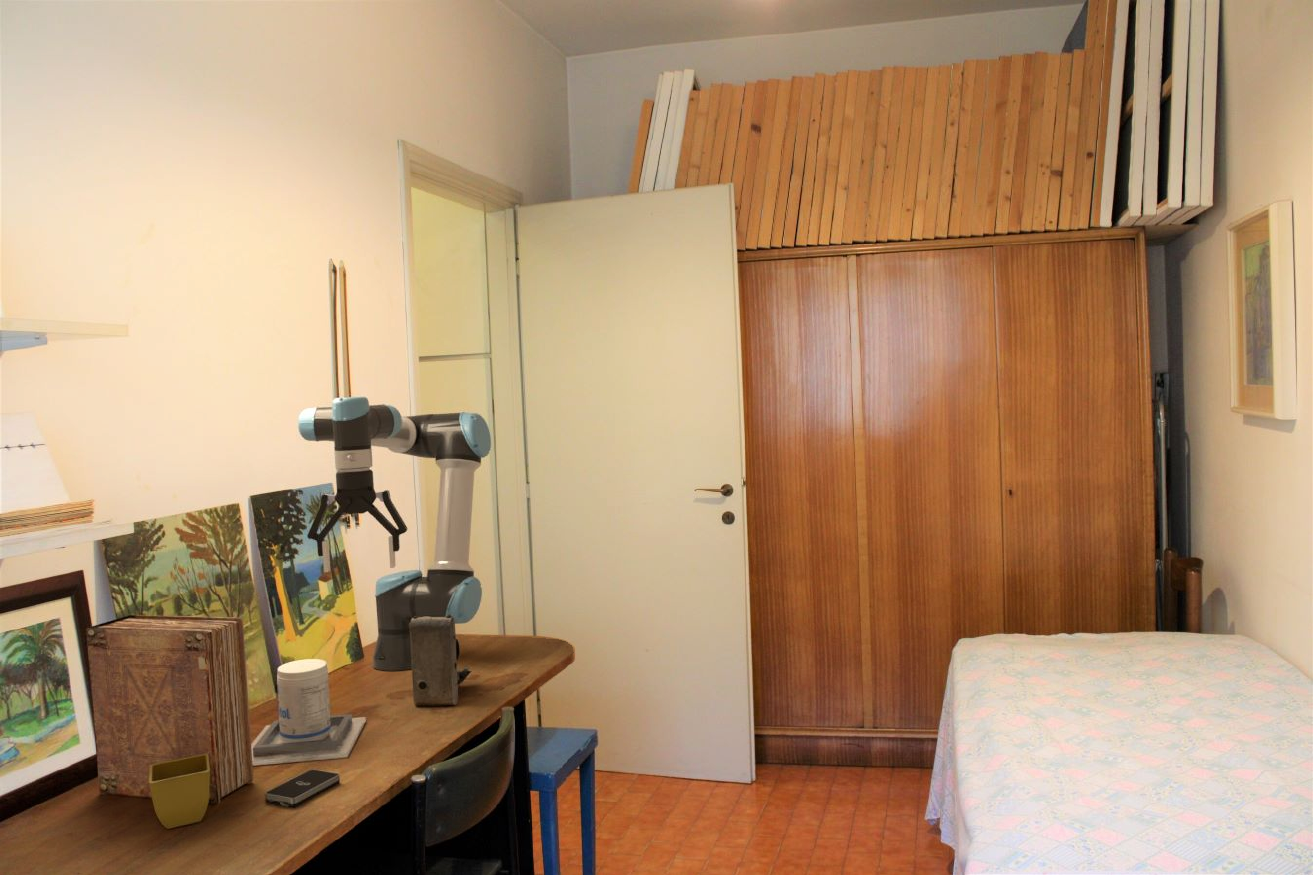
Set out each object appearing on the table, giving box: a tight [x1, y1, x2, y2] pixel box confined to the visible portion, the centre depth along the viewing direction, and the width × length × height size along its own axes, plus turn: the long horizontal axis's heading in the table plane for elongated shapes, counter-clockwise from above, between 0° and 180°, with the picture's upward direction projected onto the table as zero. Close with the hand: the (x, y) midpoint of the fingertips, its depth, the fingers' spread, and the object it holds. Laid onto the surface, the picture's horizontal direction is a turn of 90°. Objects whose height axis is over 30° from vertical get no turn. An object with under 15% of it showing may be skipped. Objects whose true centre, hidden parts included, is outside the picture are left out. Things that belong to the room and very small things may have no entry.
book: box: [85, 614, 255, 806], centre depth 169 cm, size 25×9×30 cm, turn 74°
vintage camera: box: [409, 615, 472, 707], centre depth 215 cm, size 10×16×20 cm, turn 174°
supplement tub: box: [276, 658, 331, 743], centre depth 189 cm, size 10×10×15 cm
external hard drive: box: [264, 768, 341, 809], centre depth 166 cm, size 7×11×2 cm, turn 155°
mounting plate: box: [251, 713, 367, 767], centre depth 189 cm, size 20×20×3 cm
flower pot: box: [149, 754, 210, 830], centre depth 156 cm, size 9×9×9 cm
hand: (360, 569), depth 203 cm, fingers open, 13 cm apart
